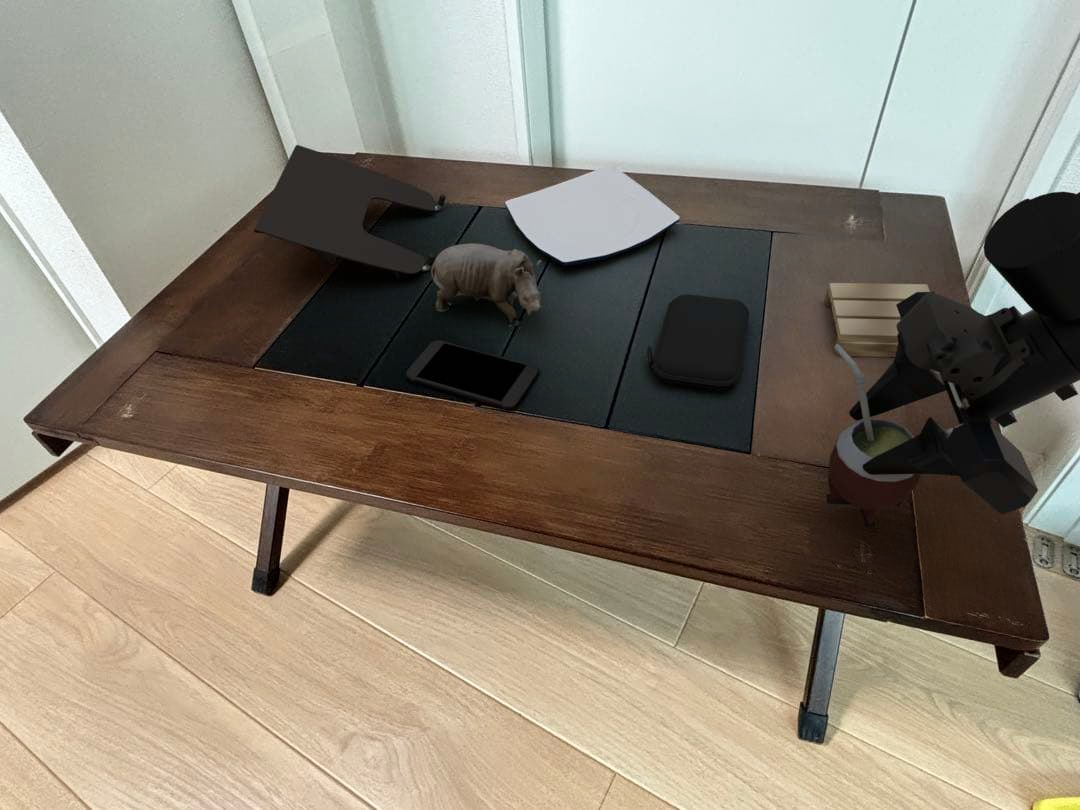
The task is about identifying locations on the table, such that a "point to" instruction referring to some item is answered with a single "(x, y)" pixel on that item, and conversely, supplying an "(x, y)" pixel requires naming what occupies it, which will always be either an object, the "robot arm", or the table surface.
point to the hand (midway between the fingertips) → (858, 442)
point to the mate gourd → (859, 448)
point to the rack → (868, 316)
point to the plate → (590, 217)
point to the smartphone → (473, 374)
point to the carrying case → (701, 342)
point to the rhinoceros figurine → (486, 277)
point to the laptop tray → (340, 211)
